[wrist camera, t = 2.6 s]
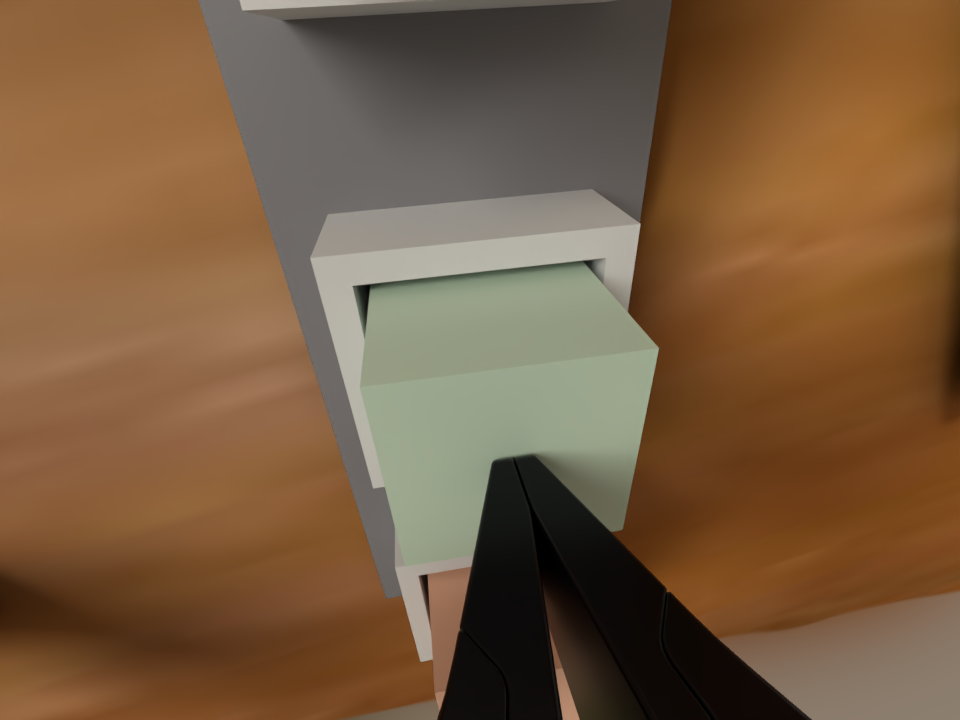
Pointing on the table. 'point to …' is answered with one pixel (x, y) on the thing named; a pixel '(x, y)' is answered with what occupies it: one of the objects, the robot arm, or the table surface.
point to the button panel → (435, 169)
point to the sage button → (500, 394)
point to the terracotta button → (445, 626)
